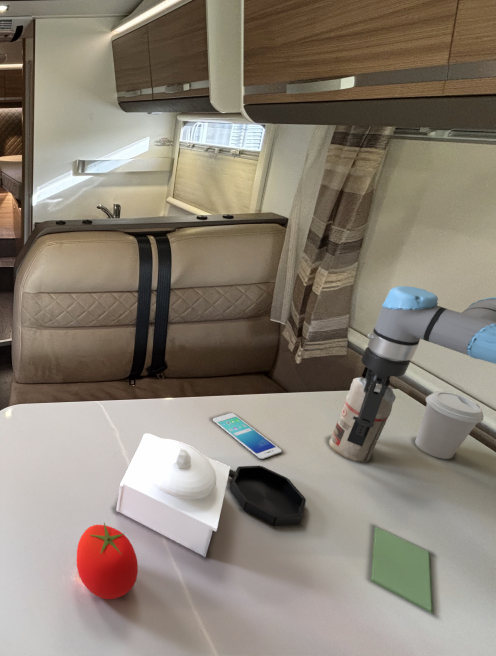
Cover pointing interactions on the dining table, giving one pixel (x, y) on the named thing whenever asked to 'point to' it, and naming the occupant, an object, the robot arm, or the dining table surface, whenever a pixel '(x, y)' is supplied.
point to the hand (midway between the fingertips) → (356, 427)
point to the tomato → (106, 562)
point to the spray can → (347, 421)
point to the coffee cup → (447, 423)
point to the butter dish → (174, 491)
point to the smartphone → (247, 436)
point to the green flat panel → (402, 569)
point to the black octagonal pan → (267, 495)
